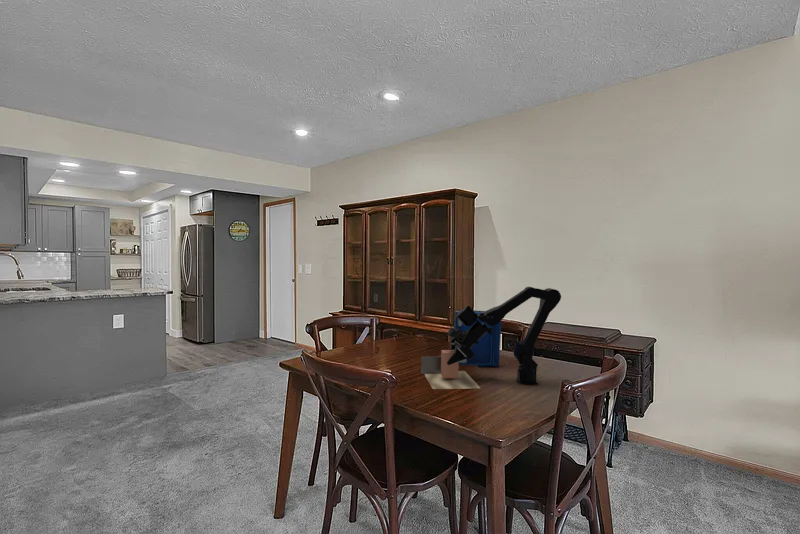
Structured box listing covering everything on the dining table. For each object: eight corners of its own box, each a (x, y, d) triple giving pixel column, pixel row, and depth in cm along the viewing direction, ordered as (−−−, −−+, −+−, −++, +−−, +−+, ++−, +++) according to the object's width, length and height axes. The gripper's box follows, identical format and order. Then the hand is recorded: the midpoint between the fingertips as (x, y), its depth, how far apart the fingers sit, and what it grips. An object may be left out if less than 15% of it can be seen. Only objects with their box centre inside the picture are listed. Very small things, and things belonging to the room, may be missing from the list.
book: (499, 364, 197) (500, 310, 197) (501, 368, 190) (502, 312, 190) (452, 362, 199) (453, 309, 199) (453, 366, 192) (454, 311, 192)
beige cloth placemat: (464, 373, 181) (464, 370, 181) (480, 390, 157) (480, 388, 157) (422, 373, 179) (422, 371, 179) (432, 391, 155) (432, 388, 155)
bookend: (448, 371, 179) (449, 355, 179) (450, 373, 176) (450, 356, 176) (420, 372, 178) (421, 355, 178) (421, 373, 175) (422, 357, 175)
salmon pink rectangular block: (455, 374, 172) (455, 349, 172) (458, 377, 167) (458, 352, 167) (440, 374, 171) (441, 350, 171) (443, 378, 166) (443, 352, 166)
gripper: (454, 317, 178) (428, 343, 177) (465, 324, 160) (436, 353, 159) (472, 335, 179) (446, 362, 178) (486, 344, 161) (457, 374, 160)
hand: (446, 362), depth 169 cm, fingers closed on salmon pink rectangular block, 5 cm apart
